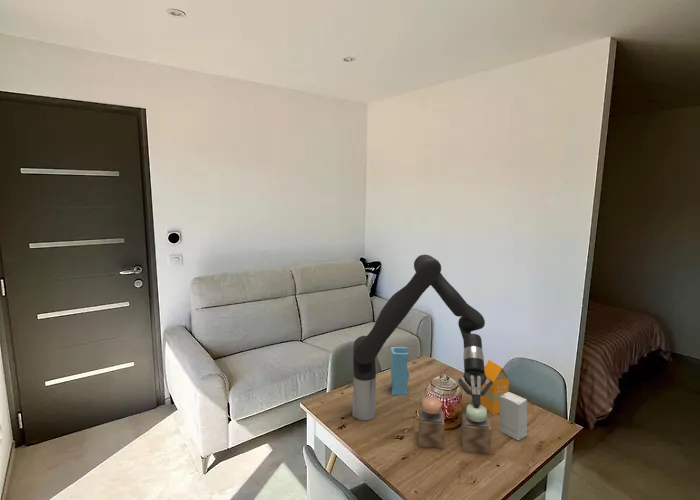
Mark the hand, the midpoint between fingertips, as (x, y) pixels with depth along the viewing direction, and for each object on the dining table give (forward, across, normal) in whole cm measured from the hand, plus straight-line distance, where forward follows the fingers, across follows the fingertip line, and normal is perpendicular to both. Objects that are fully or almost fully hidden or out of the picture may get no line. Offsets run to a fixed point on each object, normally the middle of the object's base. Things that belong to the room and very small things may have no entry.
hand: (476, 406), depth 139 cm
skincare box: (+4, +15, +17) cm, 23 cm away
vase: (-14, -30, +35) cm, 48 cm away
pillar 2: (+11, 0, +10) cm, 15 cm away
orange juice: (-9, +11, +30) cm, 33 cm away
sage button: (+3, 0, +2) cm, 4 cm away
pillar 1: (+11, -16, +10) cm, 22 cm away
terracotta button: (+2, -16, +1) cm, 16 cm away
